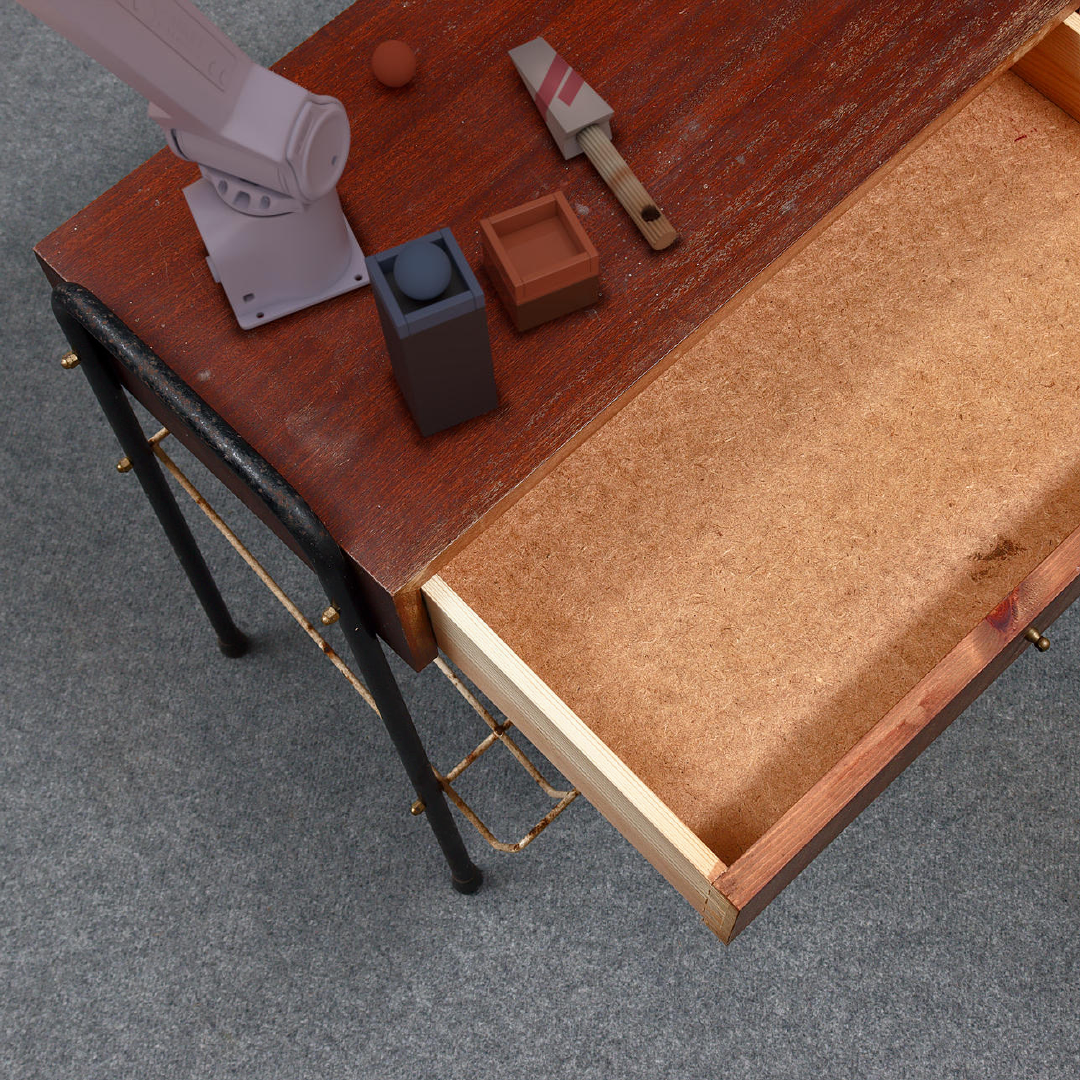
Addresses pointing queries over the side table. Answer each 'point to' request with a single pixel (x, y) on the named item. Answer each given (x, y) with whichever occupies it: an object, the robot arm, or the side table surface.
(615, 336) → the side table surface
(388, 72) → the terracotta ball
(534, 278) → the terracotta cup
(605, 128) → the paintbrush
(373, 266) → the slate stand
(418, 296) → the slate ball
